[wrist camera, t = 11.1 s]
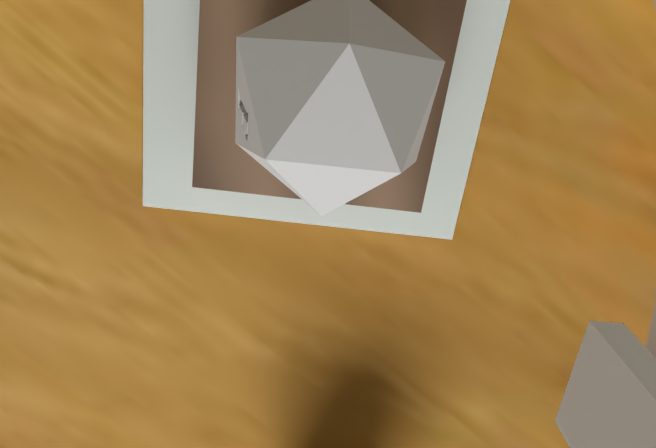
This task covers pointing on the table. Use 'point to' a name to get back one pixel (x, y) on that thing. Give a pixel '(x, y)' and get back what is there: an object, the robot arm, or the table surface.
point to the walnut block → (220, 97)
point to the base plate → (177, 193)
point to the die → (333, 99)
